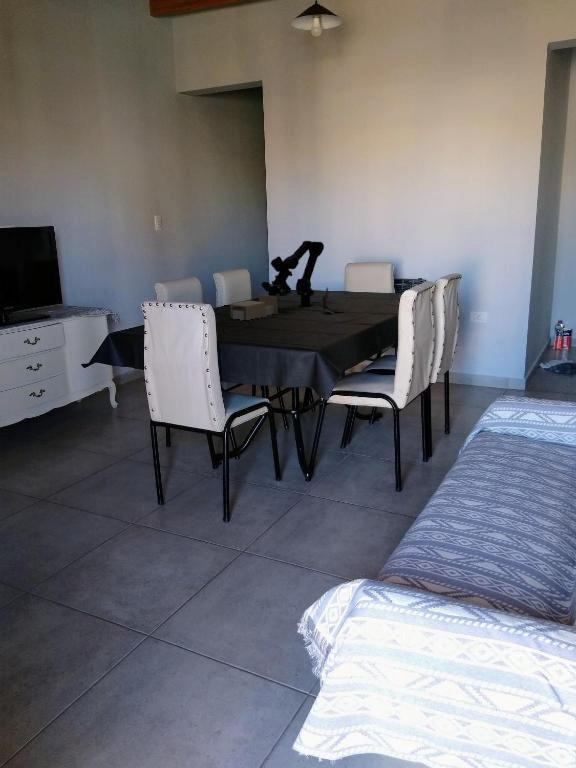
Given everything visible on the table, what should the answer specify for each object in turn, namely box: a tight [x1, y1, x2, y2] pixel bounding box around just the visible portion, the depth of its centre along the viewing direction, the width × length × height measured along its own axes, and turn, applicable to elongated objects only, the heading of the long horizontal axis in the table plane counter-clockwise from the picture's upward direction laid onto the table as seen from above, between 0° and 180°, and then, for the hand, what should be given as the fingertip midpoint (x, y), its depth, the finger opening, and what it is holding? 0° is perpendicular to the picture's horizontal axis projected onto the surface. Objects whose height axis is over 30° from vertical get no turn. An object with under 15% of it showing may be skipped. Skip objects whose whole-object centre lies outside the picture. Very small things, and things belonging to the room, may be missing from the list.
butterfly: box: [317, 286, 344, 315], centre depth 344 cm, size 17×10×10 cm
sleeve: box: [229, 300, 267, 321], centre depth 337 cm, size 14×13×8 cm
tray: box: [232, 294, 279, 321], centre depth 340 cm, size 24×13×10 cm, turn 137°
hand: (269, 299), depth 348 cm, fingers closed, pressing on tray
